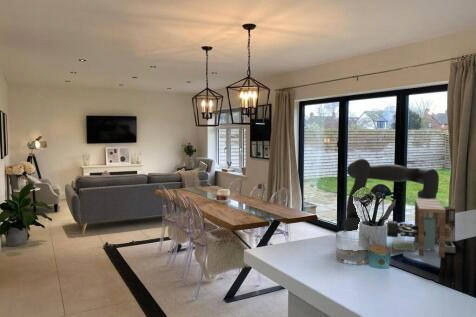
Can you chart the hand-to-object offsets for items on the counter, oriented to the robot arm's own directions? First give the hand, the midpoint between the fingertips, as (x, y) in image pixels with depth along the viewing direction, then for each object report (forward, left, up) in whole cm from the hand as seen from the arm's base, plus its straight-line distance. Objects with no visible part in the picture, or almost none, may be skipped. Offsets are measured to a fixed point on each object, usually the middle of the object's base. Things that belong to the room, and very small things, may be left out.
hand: (424, 231), depth 167 cm
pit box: (0, +10, -8) cm, 13 cm away
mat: (0, -9, -8) cm, 12 cm away
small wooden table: (0, +2, -8) cm, 8 cm away
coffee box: (-17, +10, -8) cm, 21 cm away
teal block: (0, +2, -8) cm, 8 cm away
